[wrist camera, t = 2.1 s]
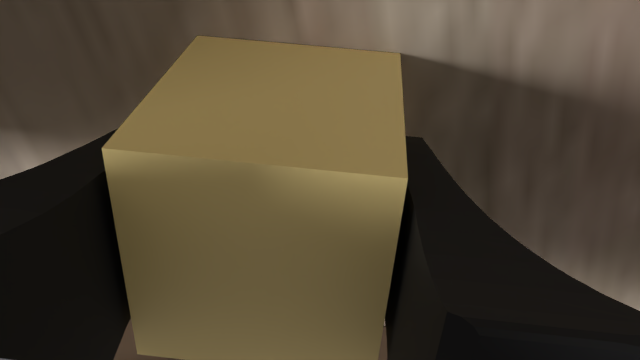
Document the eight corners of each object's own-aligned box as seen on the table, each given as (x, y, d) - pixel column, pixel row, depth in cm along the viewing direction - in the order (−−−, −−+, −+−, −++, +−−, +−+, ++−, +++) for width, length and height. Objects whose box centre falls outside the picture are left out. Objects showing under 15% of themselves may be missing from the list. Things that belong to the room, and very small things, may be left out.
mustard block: (400, 53, 12) (408, 178, 8) (377, 218, 15) (374, 381, 10) (197, 35, 12) (101, 148, 8) (207, 201, 15) (137, 354, 11)
